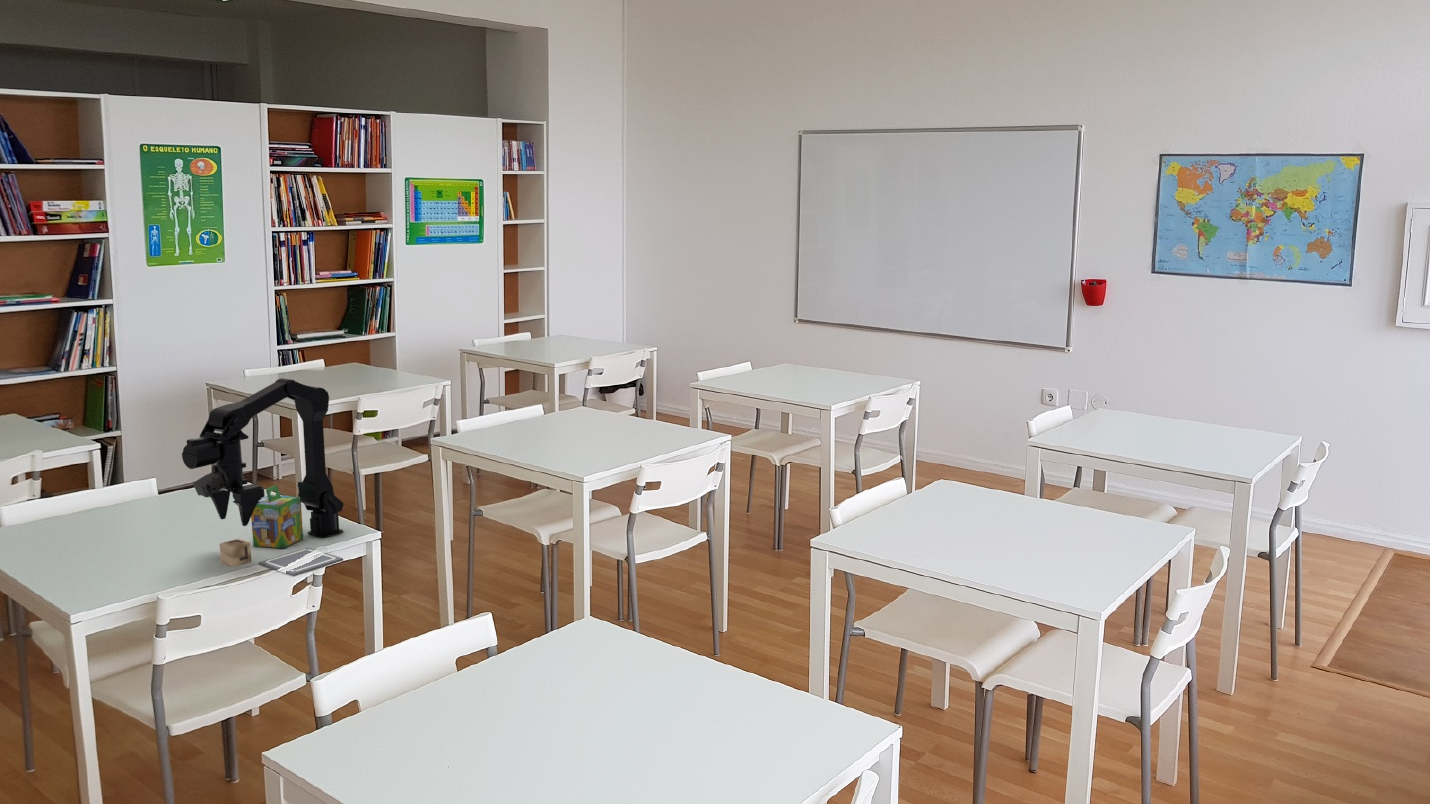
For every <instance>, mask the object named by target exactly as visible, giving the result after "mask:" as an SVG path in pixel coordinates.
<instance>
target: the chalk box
mask: <svg viewBox="0 0 1430 804" xmlns="http://www.w3.org/2000/svg"><path fill="white" fill-rule="evenodd" d="M265 492H266V495H265V497H263V498H261V500H259V501H258V503H257V505H256V507H255V509H254V511H253V513H252V516H251V518H250V521H251V532H252V533H251V534H252V543H253V544H252V546H253V547H261V548H262V547H263V548H275V549H285V548H287V547H289V546H291V545H293V544H296V543H297V542H299V541H303V540H304V532H303V531H304V530H303V518H302V517H303V513H302V502H301V498H300V497H298V496H290V495H281V492H280V490H279V487H278V486H277V484H275V485H272V486H270V487H268V488H266V489H265ZM272 492H275V494H271V493H272Z"/></svg>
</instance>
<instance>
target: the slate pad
mask: <svg viewBox="0 0 1430 804" xmlns="http://www.w3.org/2000/svg"><path fill="white" fill-rule="evenodd" d="M314 550H316V548H315V549H314V548H311V547H305V548H302V549H298V550H296V551H295V550H294V551H291V552H288V553H285V554H282V555H279V556H275V557H271V558H268V559H265V560H261V561H259V562H257V564H258V566H262V567H265V568H267V569H270V570H273V571H276V570H278V569H280V568H281V567H286V566H288V564H290V563H292V562H295V561H296V560H297V559H300V558H301V557H303V556H304V555H306V554H308V553H311V552H313V551H314ZM343 561H344V558H343V557H340V556H337V555H333V554H331V553H327V552H325V553H324V554H323V555H322V556H320V557H318V558H316V559H314V560H312V561H311V562H309V563H306V564H304V565H302V566H299V567H297V568H294V569H290V570H289V571H286V574H285V575H287V576H290V577H291V576H292V577H296V576H298V575H302V574H305V573H308V572H311V571H314V570H318V569H322V568H324V567H328V566H330V565H335V564H336V563H337V564H338V563H341V562H343Z"/></svg>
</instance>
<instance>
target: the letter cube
mask: <svg viewBox="0 0 1430 804" xmlns="http://www.w3.org/2000/svg"><path fill="white" fill-rule="evenodd" d="M219 553H220V563H221V564H223V565H227V566H229V567H232V568H235V567H237V566H240V565H241V566H242V565H245V564H248V563H251V562H252V561H253V560H252V558H253V557H252V547H251V542H250V541H249V540H248V541H247V540H246V539H243V538H242V539H241V538H235V539H231V540H227V541H223V542H220V543H219Z"/></svg>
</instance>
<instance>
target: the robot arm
mask: <svg viewBox="0 0 1430 804" xmlns="http://www.w3.org/2000/svg"><path fill="white" fill-rule="evenodd" d="M286 398H287V399H290V400H292V401H294V405H295V409H296V412H297V413H298V415H299V417H300V419H301V421H302V431H303V433H302V434H303V445H304V447H303V448H304V463H305V464H304V465H305V476H304V478H303V480H302V481H298V482H297V488H298V495H297V497H300V498H301V504H302V503H303V505H304V507H305V509H306V510H307V511H311V512H310V518H309V524H310V525H309V526H310V530H309V531H308V532H307V533H308V534H309V535H312V536H316V537H319V538H322V539H323V538H326V537H327V538H328V537H330V536H334V535H337V534H340V533H343V532H344V530H343V529H341V528H340V519H339V518H340V517H339V512H342V511H343V508H344V504H345V503H344V502H343V501H342V500H341V499H339V498H338V497H337V496H336V495H335V492H334V491H335V490H334V485H333V483H332V481H331V480H330V478H329V476H328V475H327V470H326V469H327V468H326V467H327V464H326V454H325V453H326V451H325V431H324V419H325V417H326V415H327V413H328V412H329V403H330V395H329V391H327V390H326V389H325V388H323V387H320V386H319V387H318V386H313V385H306V384H304V383H303V384H302V383H301V382H298V381H296V380H294V379H289V378H282V377H281V378H278V379H276V380H275V381H274V382H272V383H271V384H270V385H268V386H265V387H264V388H262V389H260V390H258V391H257V392H255V393H253V394H252V395H250V396H248V397H246V398H244V399H242V400H240V401H238V402H233V403H228V404H224V405H221V406H218V407H215V408H213V409H212V410H210V412H209V416H208V418H207V420H206V423H205V425H204V427H203V429H202V430H201V432H200V434H199V438H189V439H187V440H186V445H185V446H184V447H183V449H182V453H181V459H182V461H183V463H184V465H185V466H186V467H187V468H188V469H190V470H193V469H199V468H202V467H203V468H204V467H206V466H207V467H208V466H211V472H209V473H207V474H205V475H203V476H202V477H200V478H198V479H196V480H195V481H194V482H193V483H192V485H193V487H194V490H195V492H196V494H197V495H198V496H203V497H204V498H210V499H211V501H212V503H213V504H214V507H215V509H216V512H217V514H218V517H219V519H220V520H226V518H227V513H228V508H229V501H230V496H231V495H232V499H233V501H232V503H234V504H235V505H237V507H238V512H239V517H240V521H241V525H242V526H243V527H246V526H248V525H249V522H250V521H251V516H252V513H253V511H254V509H255V507H256V505H257V503H258V501H259V500H261V498H264V497H266V495H265V488H264V487H262V486H261V485H258V484H254V483H251V484H248V479H246V478H244V468H247V463H246V462H243V457H242V456H243V455H242V443H241V441H245V440H248V439H249V435H247V434H246V433H244V432H243V429H244V428H245V427H246V426H248V425H249V423H250V422H251V419H252V418H254V417H255V416H256V415H258V414H260V413H262V412H263V411H266V410H267V409H269V408H271V407H272V406H274V405H275V404H277V403H280V401H283V400H285V399H286ZM231 493H232V494H231Z"/></svg>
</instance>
